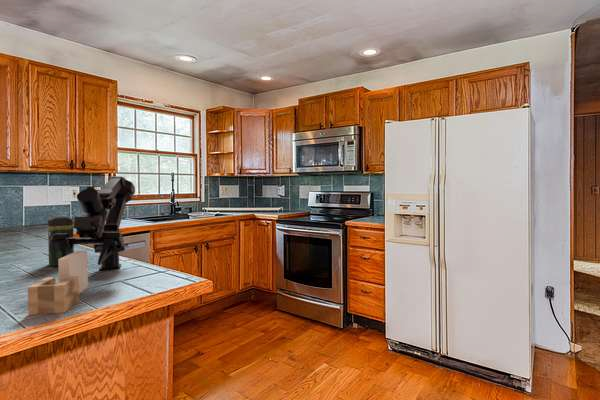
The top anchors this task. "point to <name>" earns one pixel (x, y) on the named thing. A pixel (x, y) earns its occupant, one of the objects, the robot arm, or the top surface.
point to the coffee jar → (58, 227)
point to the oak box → (53, 295)
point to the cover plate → (74, 268)
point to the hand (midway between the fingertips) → (81, 264)
